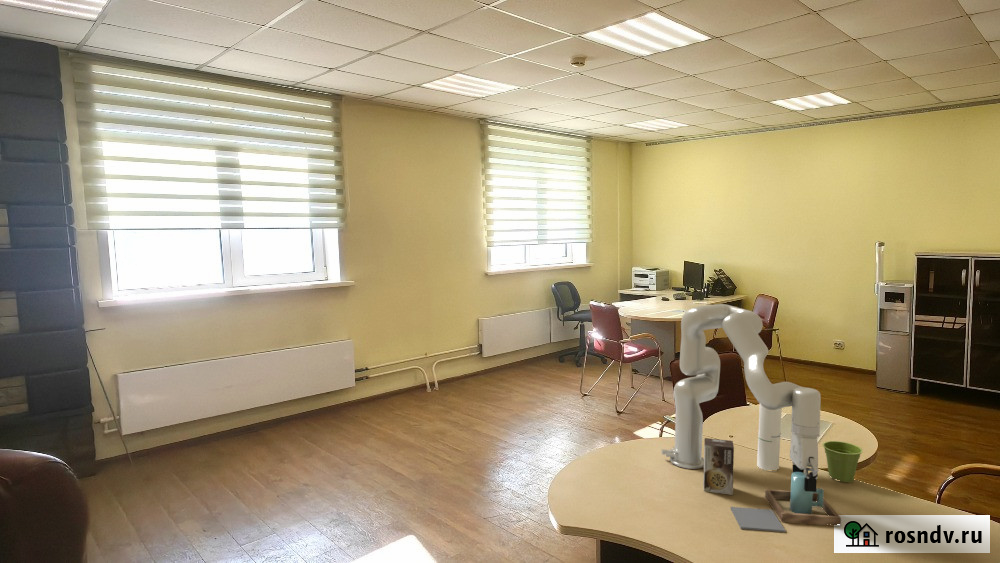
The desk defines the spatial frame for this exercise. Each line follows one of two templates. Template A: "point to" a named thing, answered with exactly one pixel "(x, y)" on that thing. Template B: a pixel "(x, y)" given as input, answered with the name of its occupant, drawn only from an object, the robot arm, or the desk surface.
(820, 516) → the brown wooden square frame
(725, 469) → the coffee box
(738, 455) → the desk surface
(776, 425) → the cylindrical container
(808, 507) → the teal mug
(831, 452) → the plant pot
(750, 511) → the rubber mat
